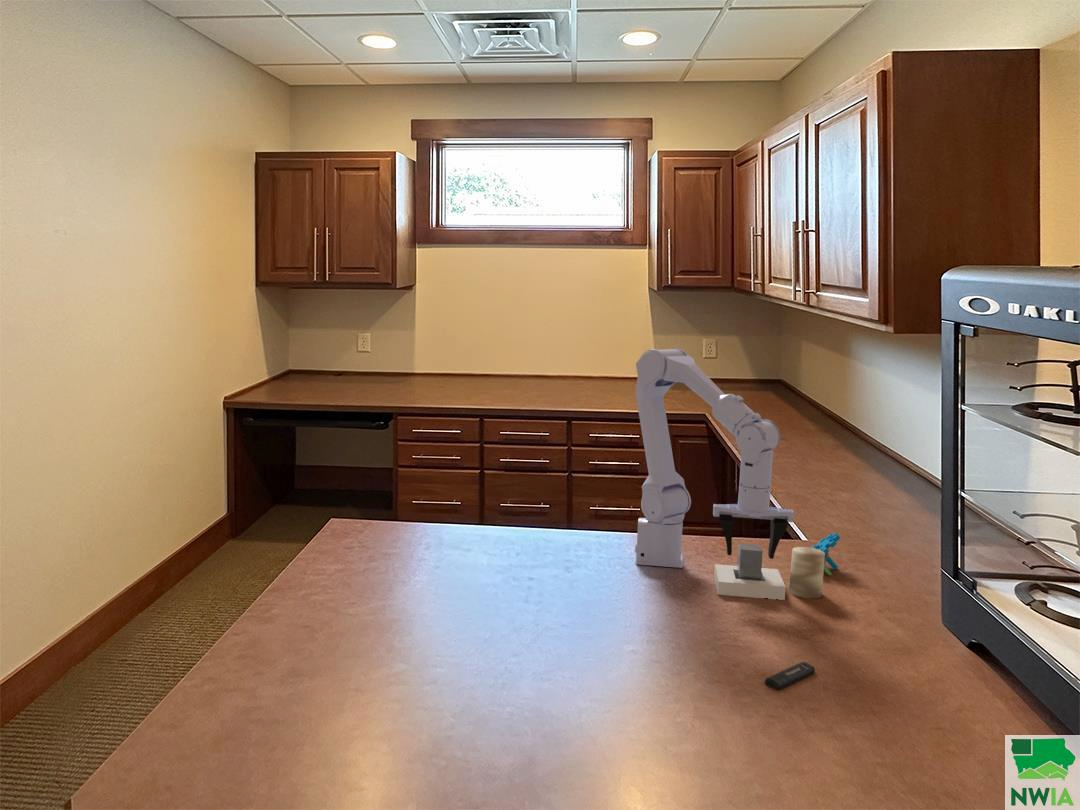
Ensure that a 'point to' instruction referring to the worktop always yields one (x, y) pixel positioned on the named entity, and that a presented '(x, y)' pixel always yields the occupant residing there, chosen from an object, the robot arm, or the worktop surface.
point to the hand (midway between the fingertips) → (749, 555)
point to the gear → (824, 546)
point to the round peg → (807, 572)
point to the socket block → (749, 583)
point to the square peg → (749, 562)
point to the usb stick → (790, 676)
